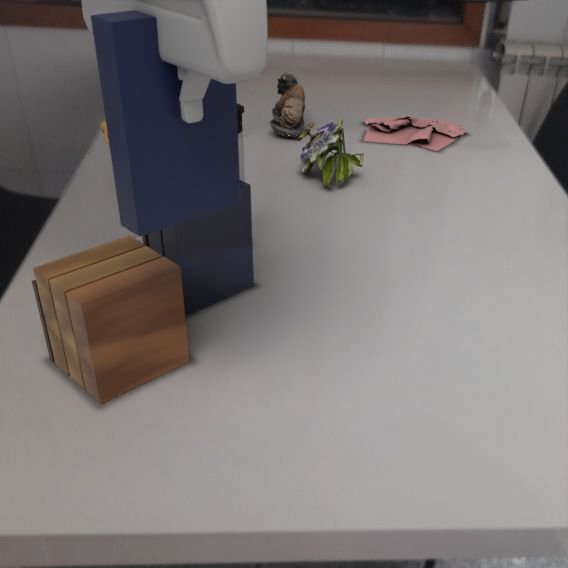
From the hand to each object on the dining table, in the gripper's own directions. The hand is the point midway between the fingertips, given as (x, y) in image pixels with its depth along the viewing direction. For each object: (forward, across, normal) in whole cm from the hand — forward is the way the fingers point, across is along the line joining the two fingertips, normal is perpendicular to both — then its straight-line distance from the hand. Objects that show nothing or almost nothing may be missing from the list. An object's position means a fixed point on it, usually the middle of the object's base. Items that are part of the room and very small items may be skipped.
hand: (174, 113), depth 60 cm
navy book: (+9, 0, 0) cm, 9 cm away
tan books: (+29, -9, -4) cm, 30 cm away
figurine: (+29, -48, +22) cm, 61 cm away
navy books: (+29, -16, +12) cm, 35 cm away
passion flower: (+29, -33, +52) cm, 68 cm away
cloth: (+29, -39, +81) cm, 94 cm away
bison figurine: (+29, -55, +62) cm, 88 cm away
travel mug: (+29, -24, +22) cm, 43 cm away
